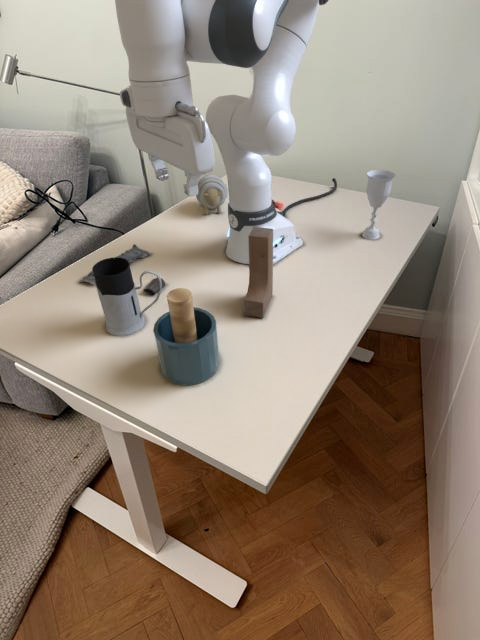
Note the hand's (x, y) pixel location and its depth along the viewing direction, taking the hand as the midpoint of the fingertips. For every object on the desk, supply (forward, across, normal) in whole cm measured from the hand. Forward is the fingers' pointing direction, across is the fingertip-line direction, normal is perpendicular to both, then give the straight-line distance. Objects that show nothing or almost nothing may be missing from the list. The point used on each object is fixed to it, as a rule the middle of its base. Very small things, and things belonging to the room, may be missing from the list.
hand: (176, 186), depth 74 cm
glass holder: (+33, +12, +9) cm, 36 cm away
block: (+33, +22, -1) cm, 40 cm away
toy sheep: (+35, +51, -40) cm, 74 cm away
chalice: (+35, +4, -63) cm, 72 cm away
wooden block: (+34, -1, -16) cm, 37 cm away
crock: (+33, -7, +7) cm, 34 cm away
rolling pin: (+32, -7, +7) cm, 33 cm away
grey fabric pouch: (+33, +38, +2) cm, 51 cm away
